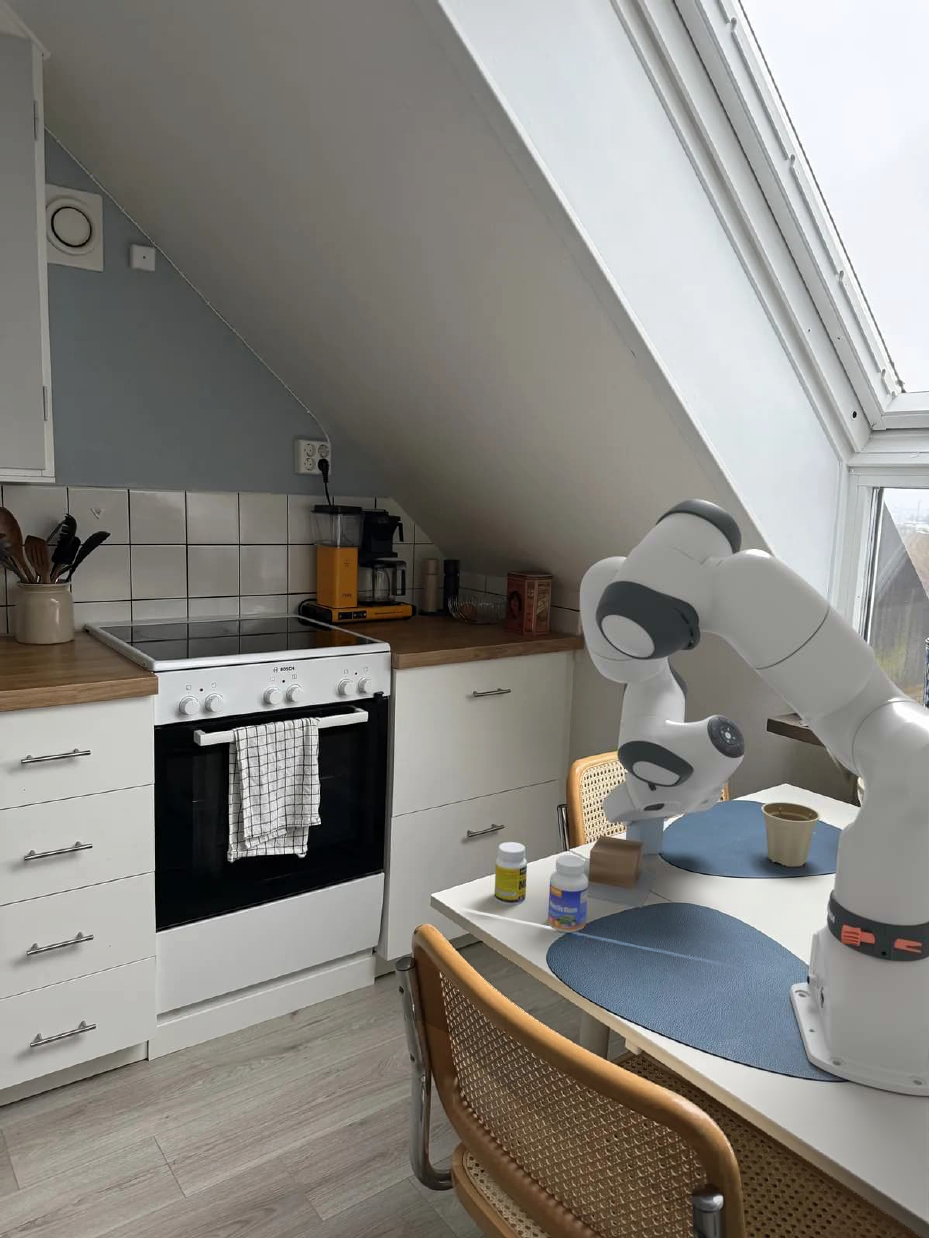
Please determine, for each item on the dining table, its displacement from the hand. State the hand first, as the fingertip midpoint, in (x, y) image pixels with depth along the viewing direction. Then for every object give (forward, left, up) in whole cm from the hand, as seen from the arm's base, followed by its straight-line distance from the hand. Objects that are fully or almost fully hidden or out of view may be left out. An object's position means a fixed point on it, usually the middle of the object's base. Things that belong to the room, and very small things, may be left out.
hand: (643, 820), depth 159 cm
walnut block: (-13, +2, -5) cm, 14 cm away
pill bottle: (-31, +5, -6) cm, 32 cm away
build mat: (-15, +2, -5) cm, 16 cm away
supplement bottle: (-27, +15, -6) cm, 32 cm away
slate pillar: (0, 0, -5) cm, 5 cm away
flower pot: (+7, -23, -6) cm, 25 cm away
